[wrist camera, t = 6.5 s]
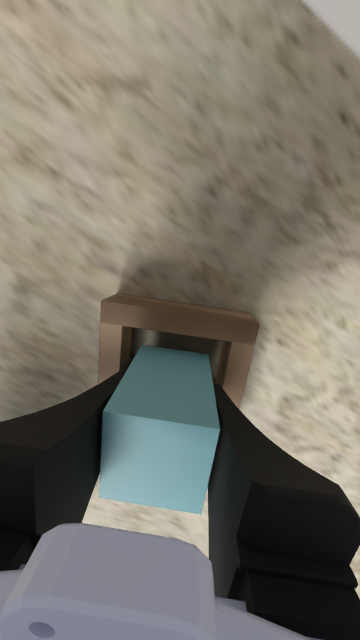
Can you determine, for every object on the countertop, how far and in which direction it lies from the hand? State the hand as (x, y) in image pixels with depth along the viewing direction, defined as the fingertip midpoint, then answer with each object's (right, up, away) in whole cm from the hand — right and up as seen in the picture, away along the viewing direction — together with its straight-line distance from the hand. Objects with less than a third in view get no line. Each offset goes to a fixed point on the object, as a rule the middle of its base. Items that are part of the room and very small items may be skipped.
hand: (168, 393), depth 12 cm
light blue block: (0, 0, +2) cm, 2 cm away
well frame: (0, +1, +3) cm, 4 cm away
